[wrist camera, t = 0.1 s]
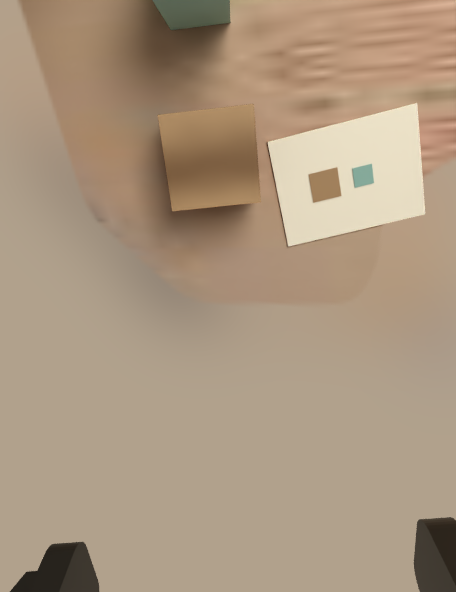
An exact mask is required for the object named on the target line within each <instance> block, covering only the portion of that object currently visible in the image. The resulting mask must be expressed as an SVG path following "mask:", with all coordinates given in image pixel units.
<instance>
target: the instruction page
mask: <svg viewBox="0 0 456 592" xmlns="http://www.w3.org/2000/svg"><path fill="white" fill-rule="evenodd" d="M267 143H268V148H269V153H270V158H271V163H272V168H273V173H274V178H275V183H276V188H277V193H278V198H279V203H280V208H281V213H282V218H283V223H284V228H285V233H286V238H287V243H288V246H293V245H297V244H301V243H306V242H310V241H314V240H318V239H323V238H327V237H331V236H335V235H340V234H344V233H348V232H352V231H357V230H361V229H365V228H370V227H374V226H378V225H382V224H387V223H391V222H395V221H399V220H404V219H408V218H412V217H416V216H421V215H425V204H424V191H423V177H422V163H421V150H420V136H419V122H418V109H417V103H415V104H411V105H407V106H403V107H400V108H396V109H392V110H388V111H384V112H380V113H377V114H373V115H369V116H365V117H361V118H358V119H354V120H350V121H346V122H342V123H338V124H335V125H331V126H327V127H323V128H319V129H315V130H312V131H308V132H304V133H300V134H296V135H293V136H289V137H285V138H281V139H277V140H273V141H270V142H267Z"/></svg>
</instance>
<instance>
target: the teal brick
mask: <svg viewBox="0 0 456 592" xmlns="http://www.w3.org/2000/svg"><path fill="white" fill-rule="evenodd" d="M152 1H153V2H154V4H155V5H156V7H157V9H158V10H159V12H160V13H161V15H162V17H163V18H164V20H165V22H166V23H167V25H168V26H169V28H170V30H177V29H185V28H193V27H201V26H209V25H217V24H225V23H230V0H152Z"/></svg>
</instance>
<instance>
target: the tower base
mask: <svg viewBox="0 0 456 592" xmlns="http://www.w3.org/2000/svg"><path fill="white" fill-rule="evenodd" d="M158 121H159V128H160V135H161V141H162V148H163V154H164V161H165V167H166V174H167V180H168V187H169V194H170V200H171V207H172V211H180V210H190V209H200V208H210V207H219V206H229V205H239V204H249V203H258V202H261V197H260V183H259V170H258V156H257V143H256V129H255V115H254V104H249V105H240V106H231V107H222V108H214V109H205V110H196V111H188V112H179V113H170V114H161V115H158Z"/></svg>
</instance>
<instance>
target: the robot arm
mask: <svg viewBox="0 0 456 592" xmlns="http://www.w3.org/2000/svg"><path fill="white" fill-rule="evenodd" d="M414 569H415V575H416V580H417V584H418V587H419V590H420V592H456V520H454V519H453V518H451V517H449V518H435V519H420V520H418V522H417V532H416V543H415V555H414ZM10 592H99V583H98V579H97V577H96V573H95V571H94V568H93V565H92V562H91V559H90V556H89V553H88V550H87V547H86V545H85V544H84V542H75V543H61V544H52V545H51V546H50V547H49V548H48V549H47V551H46V553H45V555H44V557H43V559H42V562H41V564H40V566H39V568H38V571H31V572H26V573H25V574H24V575H23V577H22V578H21V579H20V580H19V581H18V583H17V584H16V585H15V586H14V587H13V589H12V590H11V591H10Z"/></svg>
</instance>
